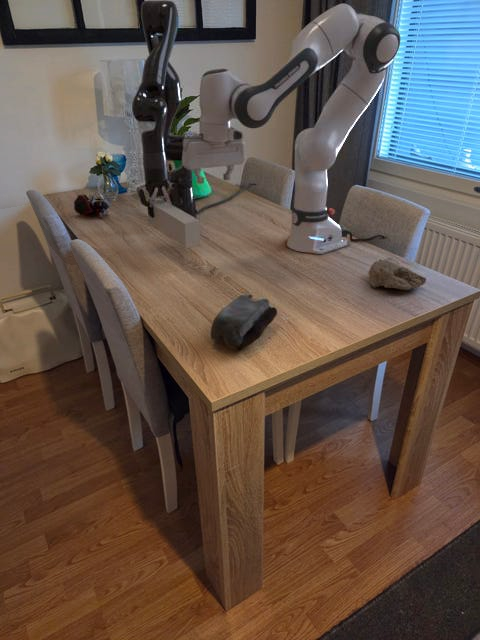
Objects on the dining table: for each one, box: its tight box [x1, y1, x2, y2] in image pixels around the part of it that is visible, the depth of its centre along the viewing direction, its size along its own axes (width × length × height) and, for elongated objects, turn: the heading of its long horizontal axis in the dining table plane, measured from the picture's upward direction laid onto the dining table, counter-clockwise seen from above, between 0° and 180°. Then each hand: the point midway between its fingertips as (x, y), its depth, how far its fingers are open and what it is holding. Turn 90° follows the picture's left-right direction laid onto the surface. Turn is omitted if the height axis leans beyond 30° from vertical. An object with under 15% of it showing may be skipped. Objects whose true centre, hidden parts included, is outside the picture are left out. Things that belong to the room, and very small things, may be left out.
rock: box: [210, 294, 278, 352], centre depth 109 cm, size 18×11×8 cm, turn 152°
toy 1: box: [73, 194, 111, 220], centre depth 187 cm, size 12×9×15 cm
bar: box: [146, 197, 202, 249], centre depth 146 cm, size 28×5×8 cm, turn 34°
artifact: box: [368, 257, 427, 291], centre depth 135 cm, size 18×8×15 cm
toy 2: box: [168, 161, 212, 200], centre depth 210 cm, size 20×20×25 cm
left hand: (160, 215), depth 153 cm, fingers closed on bar, 5 cm apart
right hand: (213, 181), depth 136 cm, fingers open, 8 cm apart
